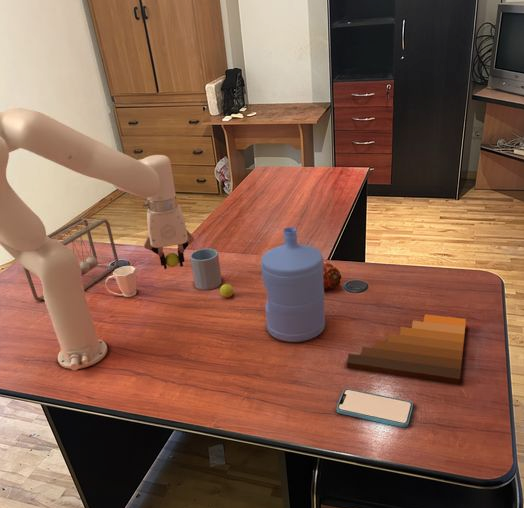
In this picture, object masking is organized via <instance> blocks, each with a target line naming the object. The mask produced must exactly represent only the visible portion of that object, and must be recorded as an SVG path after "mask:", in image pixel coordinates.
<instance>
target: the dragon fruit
mask: <svg viewBox="0 0 524 508" xmlns="http://www.w3.org/2000/svg"><path fill="white" fill-rule="evenodd" d="M323 264H324V271H323V284H324V289H326V290H331V289H332V288H335V287H338V286H339V285H340V284H341V283H342V282H341V280H342V274H341V272H340V270H339V269H338V268H337V267H335V266H334V265H333V264H331V263H330V262H323Z"/></svg>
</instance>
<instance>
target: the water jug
mask: <svg viewBox="0 0 524 508" xmlns="http://www.w3.org/2000/svg"><path fill="white" fill-rule="evenodd" d="M282 231H283V240H284V243H283V244H281V245H278V246H275V247H273V248H270V249H268V250H266V252H264V253H263V255H262V256H261V259H260V263H261V264H260V271H261V276H262V284H263V286H264V287H265V290H266V295H267V301H266V303H265V316H266V318H265V319H266V320H265V323H266V329H267V332H268V333H269V334H270V335H271V336H272V337H273V338H274V339H277V340H278V341H282V342H287V343H300V342H301V343H302V342H306V341H309V340H312V339H314V338H316V337H318V336H319V335H320V334H321V333H323V331H324V330H325V327H326V315H325V288H324V284H323V271H324V264H325V263H324V258H323V257H324V256H323V253H322V252H321V251H320V250H319V249H318V248H316V247H315V246H312V245H309V244H303V243H298V235H297V228H296V227H293V226H289V227H285V228H283V230H282ZM323 263H324V264H323Z"/></svg>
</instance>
